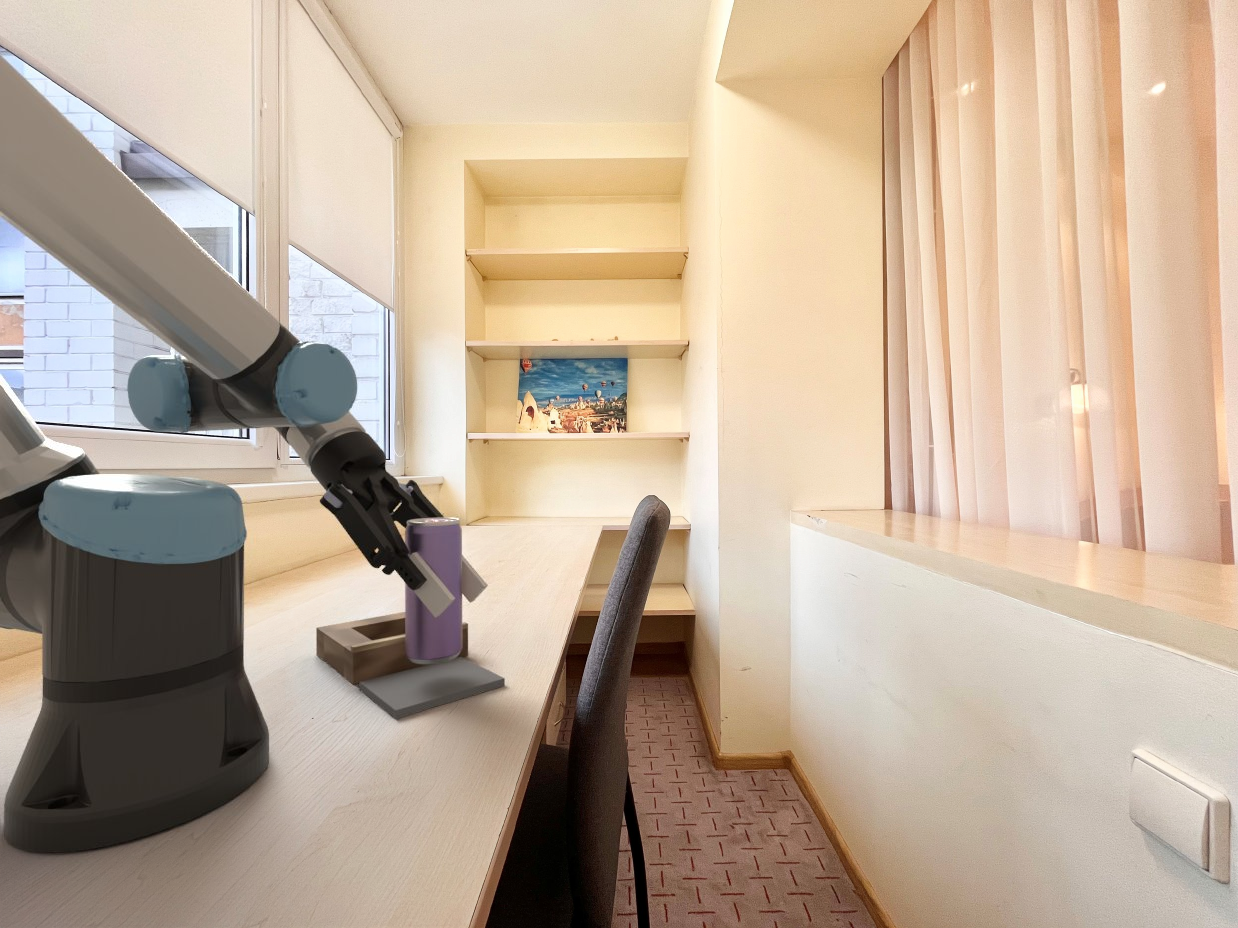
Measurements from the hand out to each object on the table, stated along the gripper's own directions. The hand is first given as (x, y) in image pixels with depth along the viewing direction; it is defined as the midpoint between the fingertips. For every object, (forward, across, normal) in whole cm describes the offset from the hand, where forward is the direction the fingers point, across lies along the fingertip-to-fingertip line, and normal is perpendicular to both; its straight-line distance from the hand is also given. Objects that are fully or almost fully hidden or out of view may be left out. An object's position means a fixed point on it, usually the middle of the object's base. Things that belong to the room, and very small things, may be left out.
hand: (462, 600), depth 61 cm
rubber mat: (+4, 0, -9) cm, 10 cm away
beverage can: (+2, 0, -7) cm, 7 cm away
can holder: (-4, -8, -18) cm, 20 cm away
